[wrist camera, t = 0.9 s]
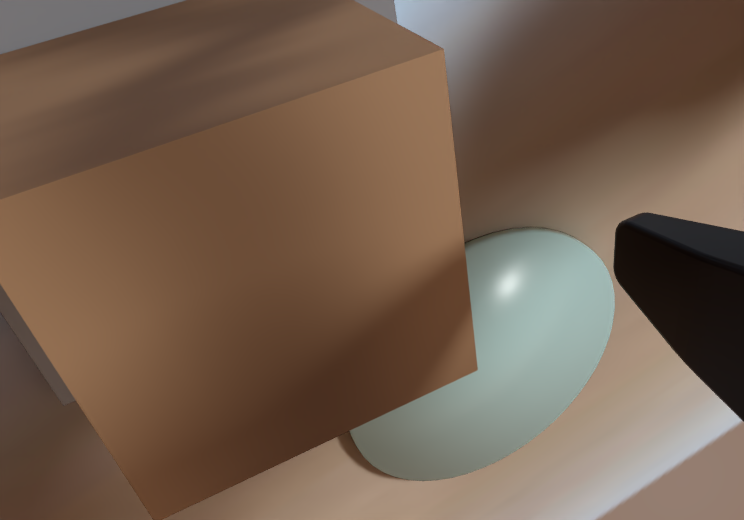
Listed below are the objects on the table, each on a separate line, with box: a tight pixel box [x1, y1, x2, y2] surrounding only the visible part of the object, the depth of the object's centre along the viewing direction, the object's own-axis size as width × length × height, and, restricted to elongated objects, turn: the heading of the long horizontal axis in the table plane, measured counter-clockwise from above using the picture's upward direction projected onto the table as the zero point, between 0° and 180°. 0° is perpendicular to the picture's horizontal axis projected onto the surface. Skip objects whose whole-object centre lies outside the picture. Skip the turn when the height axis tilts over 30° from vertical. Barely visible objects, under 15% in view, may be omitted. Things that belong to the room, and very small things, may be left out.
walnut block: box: [0, 0, 478, 520], centre depth 12 cm, size 6×6×6 cm
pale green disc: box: [349, 227, 615, 481], centre depth 22 cm, size 10×10×1 cm
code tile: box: [0, 0, 397, 406], centre depth 15 cm, size 10×10×1 cm
